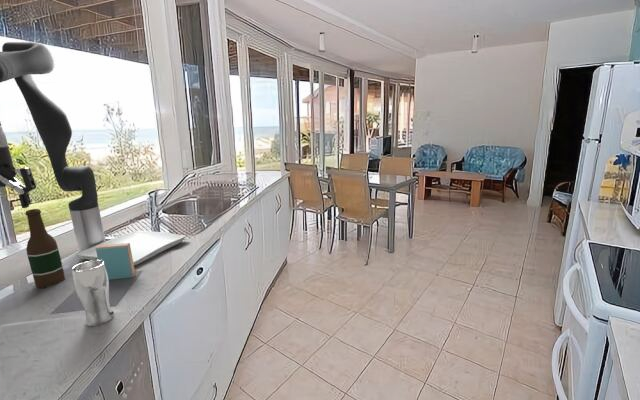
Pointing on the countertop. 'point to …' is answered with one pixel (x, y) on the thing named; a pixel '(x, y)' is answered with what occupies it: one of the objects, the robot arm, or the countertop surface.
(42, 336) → the countertop surface
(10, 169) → the robot arm
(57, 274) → the beer bottle
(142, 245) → the square plate
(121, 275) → the tile
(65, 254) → the countertop surface
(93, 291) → the beer glass
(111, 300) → the mat
